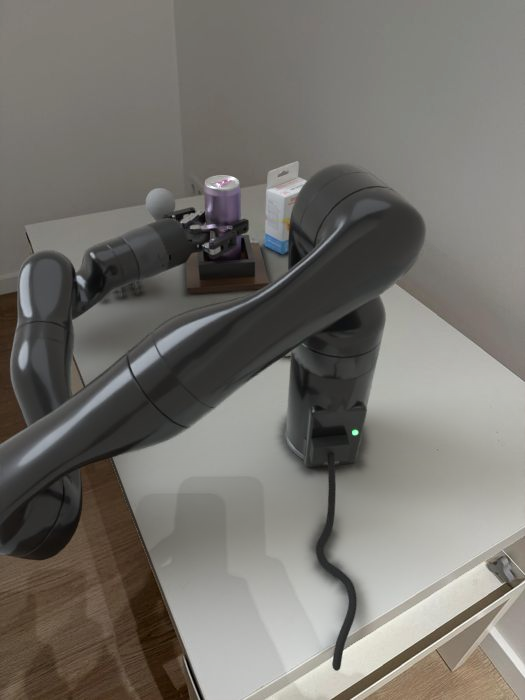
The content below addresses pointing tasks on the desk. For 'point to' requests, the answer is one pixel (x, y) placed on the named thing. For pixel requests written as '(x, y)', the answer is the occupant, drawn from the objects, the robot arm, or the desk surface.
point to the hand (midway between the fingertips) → (234, 217)
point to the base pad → (227, 271)
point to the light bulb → (160, 203)
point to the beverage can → (223, 209)
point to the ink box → (281, 205)
